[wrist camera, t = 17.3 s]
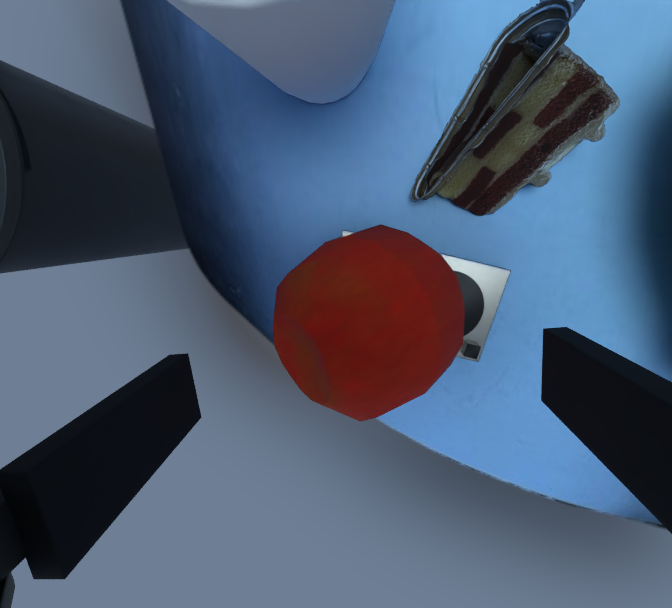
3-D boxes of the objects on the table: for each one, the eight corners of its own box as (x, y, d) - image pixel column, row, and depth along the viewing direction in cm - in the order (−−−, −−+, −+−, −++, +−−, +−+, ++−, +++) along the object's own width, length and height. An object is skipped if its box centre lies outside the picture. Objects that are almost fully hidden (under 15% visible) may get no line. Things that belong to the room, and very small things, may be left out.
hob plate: (323, 318, 28) (319, 325, 26) (344, 229, 26) (342, 230, 24) (473, 356, 27) (481, 366, 25) (504, 268, 25) (516, 272, 23)
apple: (313, 458, 21) (426, 364, 27) (417, 447, 13) (543, 317, 19) (228, 315, 22) (355, 259, 29) (272, 221, 14) (436, 171, 20)
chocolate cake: (482, 256, 26) (695, 137, 16) (405, 210, 24) (595, 38, 14) (486, 169, 30) (654, 33, 20) (422, 123, 28) (574, -55, 18)
